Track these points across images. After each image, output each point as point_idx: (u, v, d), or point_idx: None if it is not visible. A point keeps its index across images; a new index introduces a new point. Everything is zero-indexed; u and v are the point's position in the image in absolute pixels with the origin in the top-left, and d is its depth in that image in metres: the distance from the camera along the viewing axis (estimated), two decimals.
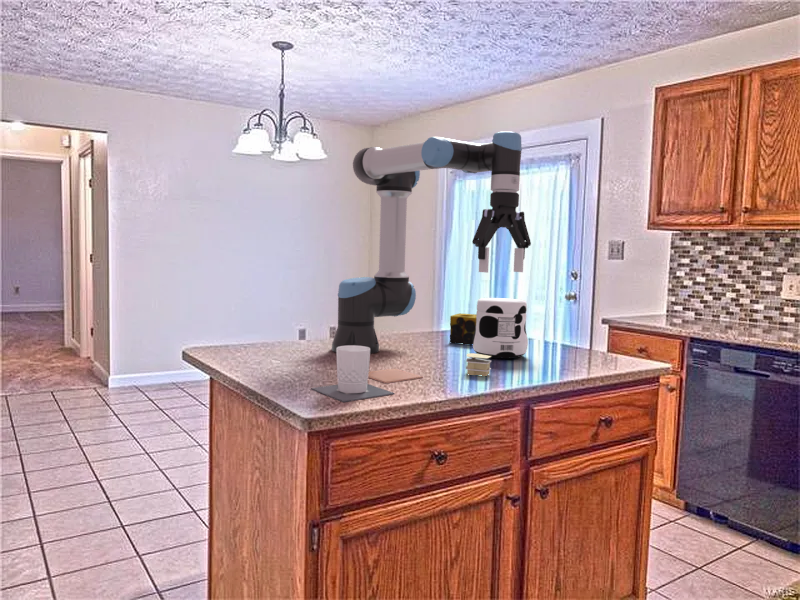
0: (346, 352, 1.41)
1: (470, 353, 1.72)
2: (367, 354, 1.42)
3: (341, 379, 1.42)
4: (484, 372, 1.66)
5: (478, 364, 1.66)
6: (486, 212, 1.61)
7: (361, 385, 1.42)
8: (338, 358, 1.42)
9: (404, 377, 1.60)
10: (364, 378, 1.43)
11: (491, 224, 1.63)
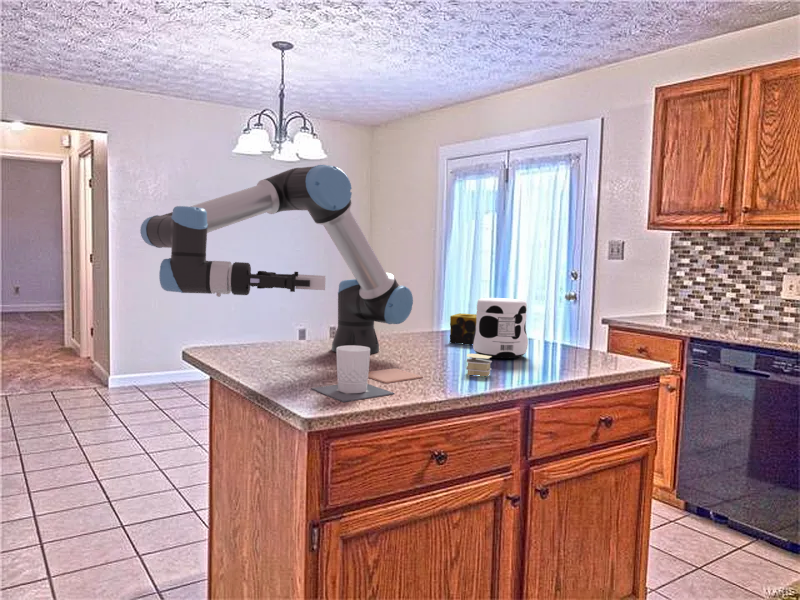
0: (346, 352, 1.41)
1: None
2: (367, 354, 1.42)
3: (341, 379, 1.42)
4: (484, 372, 1.66)
5: (478, 364, 1.66)
6: None
7: (361, 385, 1.42)
8: (338, 358, 1.42)
9: (404, 377, 1.60)
10: (364, 378, 1.43)
11: None
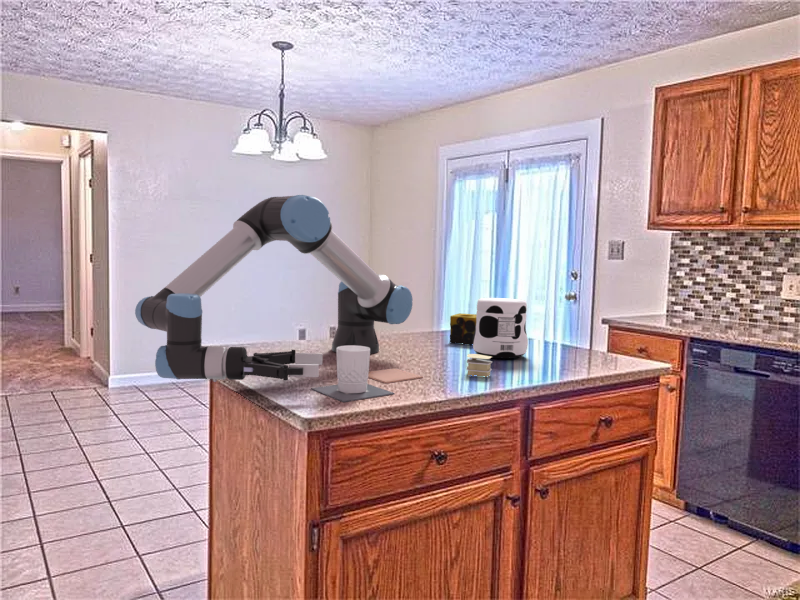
0: (346, 352, 1.41)
1: (471, 354, 1.71)
2: (367, 354, 1.42)
3: (341, 379, 1.42)
4: (485, 373, 1.65)
5: (479, 365, 1.66)
6: None
7: (361, 385, 1.42)
8: (338, 358, 1.42)
9: (404, 377, 1.60)
10: (364, 378, 1.43)
11: None
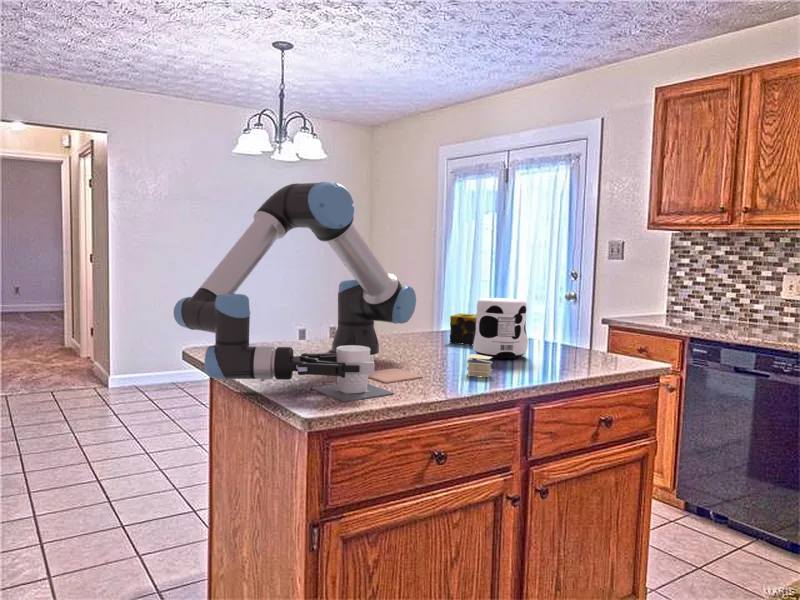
0: (346, 352, 1.41)
1: (471, 354, 1.70)
2: (367, 354, 1.42)
3: (341, 379, 1.42)
4: (485, 373, 1.65)
5: (479, 365, 1.65)
6: None
7: (361, 385, 1.42)
8: (338, 358, 1.42)
9: (404, 377, 1.60)
10: (364, 378, 1.43)
11: None
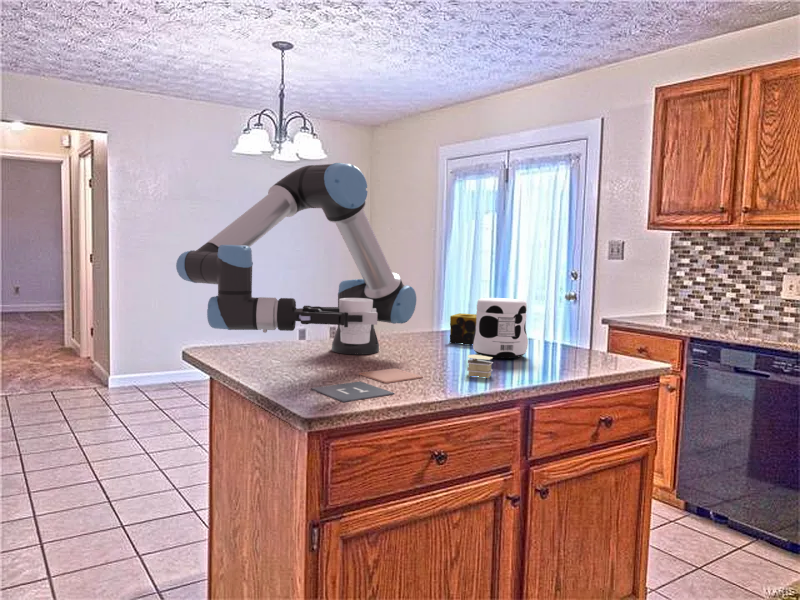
0: (349, 302, 1.40)
1: None
2: (370, 305, 1.42)
3: (344, 330, 1.42)
4: (485, 374, 1.64)
5: (479, 365, 1.65)
6: None
7: (364, 336, 1.42)
8: (341, 309, 1.42)
9: (404, 377, 1.60)
10: (367, 329, 1.43)
11: None
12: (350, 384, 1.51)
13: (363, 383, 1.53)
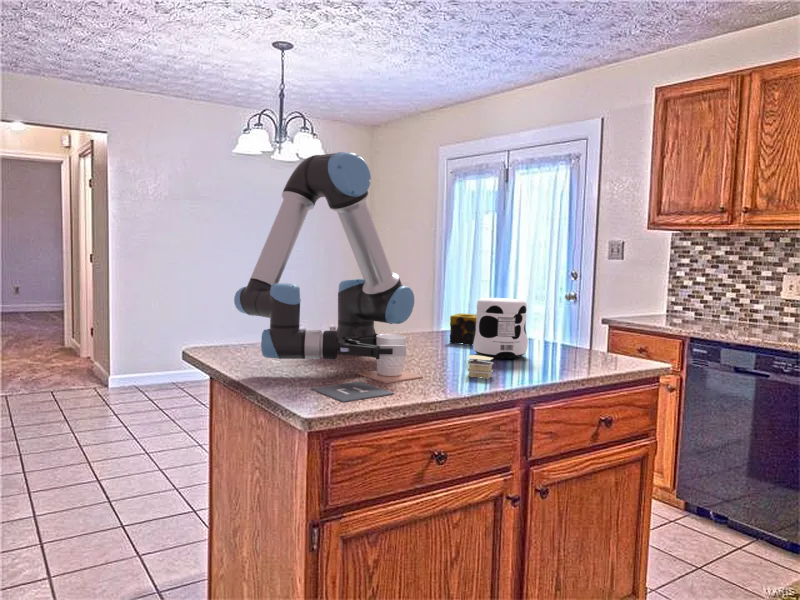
0: (386, 339, 1.60)
1: (472, 355, 1.69)
2: (404, 341, 1.62)
3: (381, 363, 1.61)
4: (486, 374, 1.63)
5: (480, 366, 1.64)
6: None
7: (398, 369, 1.62)
8: (378, 345, 1.61)
9: (404, 377, 1.60)
10: (401, 363, 1.62)
11: None
12: (350, 384, 1.51)
13: (363, 383, 1.53)
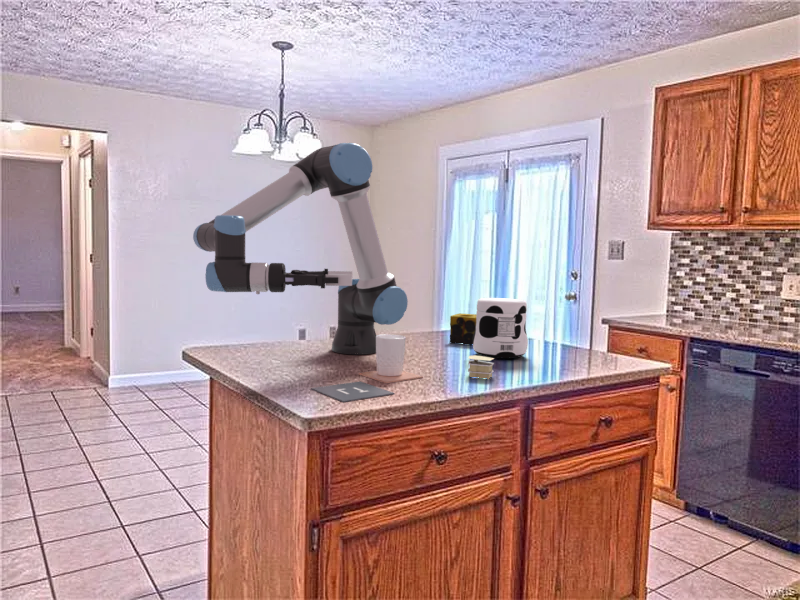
0: (385, 340, 1.60)
1: None
2: (403, 341, 1.62)
3: (380, 363, 1.61)
4: (486, 375, 1.63)
5: (480, 366, 1.63)
6: None
7: (398, 369, 1.62)
8: (378, 345, 1.61)
9: (404, 377, 1.60)
10: (400, 363, 1.62)
11: None
12: (350, 384, 1.51)
13: (363, 383, 1.53)
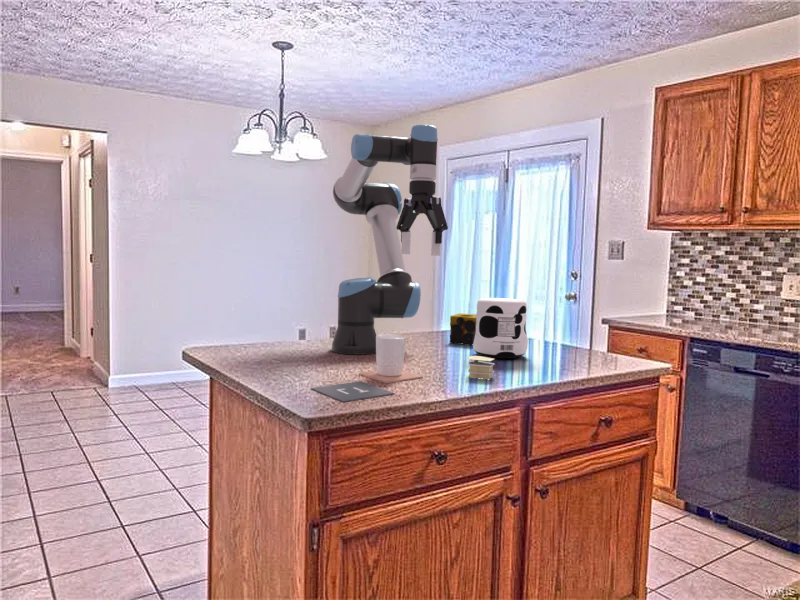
0: (385, 340, 1.60)
1: None
2: (403, 341, 1.62)
3: (380, 363, 1.61)
4: (487, 375, 1.62)
5: (481, 367, 1.63)
6: None
7: (398, 369, 1.62)
8: (378, 345, 1.61)
9: (404, 377, 1.60)
10: (400, 363, 1.62)
11: None
12: (350, 384, 1.51)
13: (363, 383, 1.53)
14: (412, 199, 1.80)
